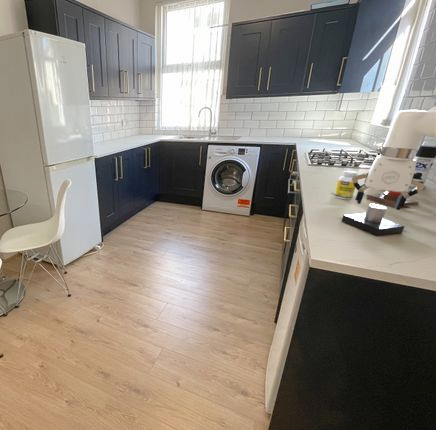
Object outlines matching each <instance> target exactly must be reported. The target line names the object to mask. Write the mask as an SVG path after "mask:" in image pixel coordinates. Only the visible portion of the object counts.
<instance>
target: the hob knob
mask: <svg viewBox="0 0 436 430" xmlns="http://www.w3.org/2000/svg"><path fill="white" fill-rule="evenodd" d="M387 209H388V208H387V207H386V205H382V204H375V203H370V204H368V207H367V209H366V212H365V213H366V215H365V218H364V219H365V220H366V221H369V222H374V223H381V222H382V219H384V217H385V214H386V211H387Z"/></svg>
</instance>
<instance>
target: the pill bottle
mask: <svg viewBox="0 0 436 430" xmlns="http://www.w3.org/2000/svg"><path fill="white" fill-rule="evenodd" d="M358 173H359V172H357V171H355V170H343V173H342V176H339V177H338V180H337V182H336V186H335V190H334V192H333V196H334V198H336V199H340V200H351V199H353V196H354V193H355V191H356V187H355V186H354V184H353V181H352V177H353V176H357V175H358Z"/></svg>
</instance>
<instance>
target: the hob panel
mask: <svg viewBox="0 0 436 430" xmlns="http://www.w3.org/2000/svg"><path fill="white" fill-rule="evenodd" d="M365 215H366V212H363V213H351V214H343V215H342V217H341V220H340V221H341V222H342V223H344V224H346V225H348V226H351V227H353V228H356V229H358V230H361V231H363V232H366V233H368V234H370V235H373V236H374V237H382V236H390V235H400V234H402V233H403V231H404V229H405V226H404V225H401V224H399V223H396V222H393V221H390V220H387V219H385V218H383V219H382V222H381V223H374V222H369V221H366V220H365V219H364V218H365Z"/></svg>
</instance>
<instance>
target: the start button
mask: <svg viewBox="0 0 436 430" xmlns="http://www.w3.org/2000/svg"><path fill="white" fill-rule="evenodd" d="M388 194H391V195H397V196H401V193H400V192H394V191H388Z"/></svg>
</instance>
